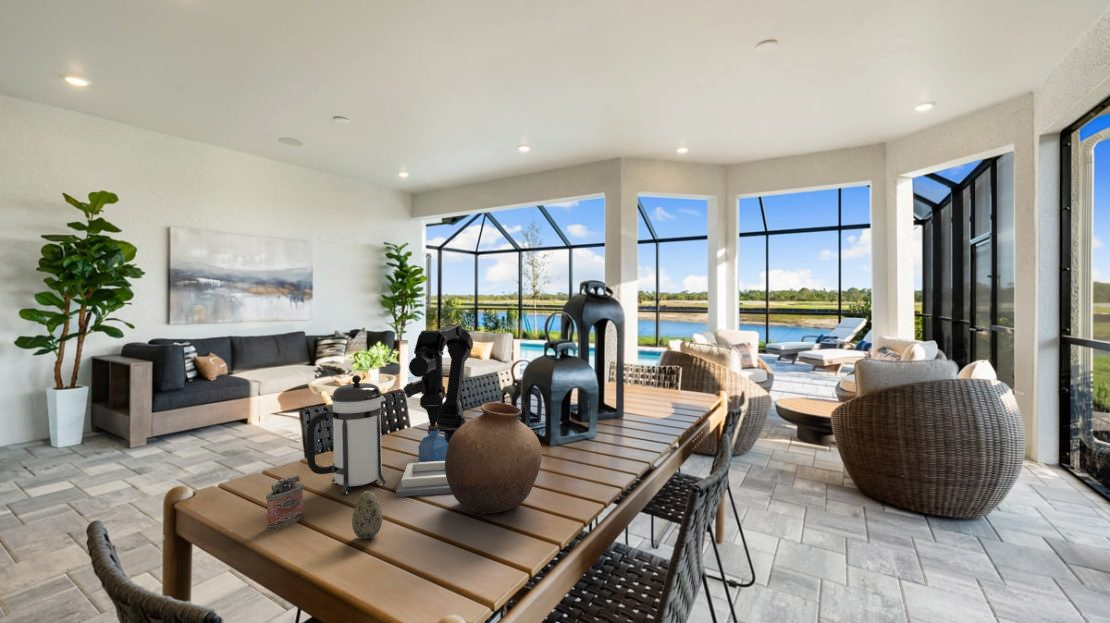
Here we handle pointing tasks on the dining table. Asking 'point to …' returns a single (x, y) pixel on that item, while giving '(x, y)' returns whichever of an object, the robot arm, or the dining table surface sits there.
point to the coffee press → (352, 435)
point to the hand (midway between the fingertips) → (433, 422)
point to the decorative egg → (367, 516)
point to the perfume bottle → (433, 446)
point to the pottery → (493, 460)
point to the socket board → (423, 479)
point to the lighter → (285, 503)
